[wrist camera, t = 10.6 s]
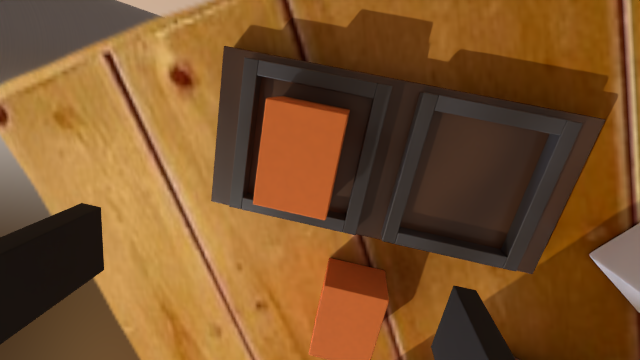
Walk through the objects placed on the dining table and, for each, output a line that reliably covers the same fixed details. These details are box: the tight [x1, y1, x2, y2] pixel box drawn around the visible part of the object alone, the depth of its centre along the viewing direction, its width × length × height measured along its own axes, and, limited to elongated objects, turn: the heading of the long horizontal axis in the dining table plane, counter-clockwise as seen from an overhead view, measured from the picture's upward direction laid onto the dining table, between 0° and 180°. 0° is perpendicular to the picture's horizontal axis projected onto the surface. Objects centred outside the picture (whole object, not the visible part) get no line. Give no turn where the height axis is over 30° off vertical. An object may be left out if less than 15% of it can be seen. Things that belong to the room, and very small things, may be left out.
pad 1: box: [253, 96, 350, 220], centre depth 21 cm, size 5×7×4 cm
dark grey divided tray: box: [211, 46, 605, 274], centre depth 23 cm, size 26×12×3 cm, turn 80°
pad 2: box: [309, 258, 389, 360], centre depth 26 cm, size 5×7×4 cm
